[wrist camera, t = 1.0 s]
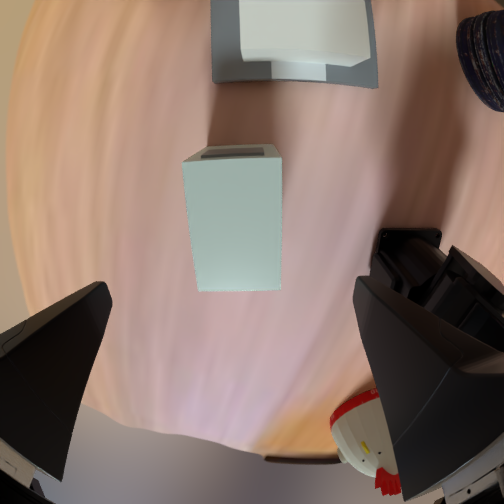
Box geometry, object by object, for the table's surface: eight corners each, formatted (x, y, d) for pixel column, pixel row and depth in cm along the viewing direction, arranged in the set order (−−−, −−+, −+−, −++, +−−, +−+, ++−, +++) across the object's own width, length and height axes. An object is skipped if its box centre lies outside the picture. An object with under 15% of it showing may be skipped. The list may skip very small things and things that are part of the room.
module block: (272, 141, 18) (281, 154, 12) (273, 236, 21) (280, 290, 15) (206, 144, 18) (181, 159, 12) (214, 238, 21) (198, 291, 15)
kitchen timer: (388, 372, 30) (424, 474, 16) (427, 394, 33) (456, 469, 20) (310, 422, 35) (321, 512, 21) (361, 435, 38) (376, 505, 25)
